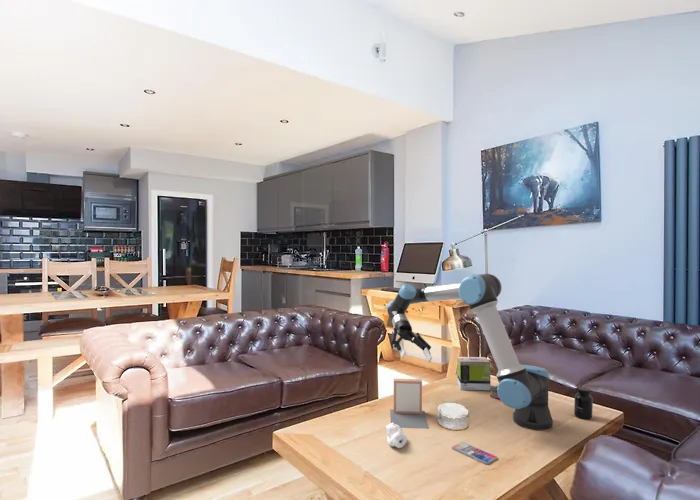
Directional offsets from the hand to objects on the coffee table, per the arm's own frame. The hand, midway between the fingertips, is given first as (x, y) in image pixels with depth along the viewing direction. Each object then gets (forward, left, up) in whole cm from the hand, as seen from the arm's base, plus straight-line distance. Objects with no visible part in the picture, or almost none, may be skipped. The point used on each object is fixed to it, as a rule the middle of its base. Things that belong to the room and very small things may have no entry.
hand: (417, 357), depth 183 cm
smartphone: (-38, -1, -25) cm, 45 cm away
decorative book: (+1, -51, -25) cm, 57 cm away
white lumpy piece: (-21, +21, -24) cm, 38 cm away
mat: (-5, +7, -24) cm, 26 cm away
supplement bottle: (-28, -65, -24) cm, 75 cm away
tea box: (+19, -44, -24) cm, 54 cm away
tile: (+1, +4, -23) cm, 24 cm away
